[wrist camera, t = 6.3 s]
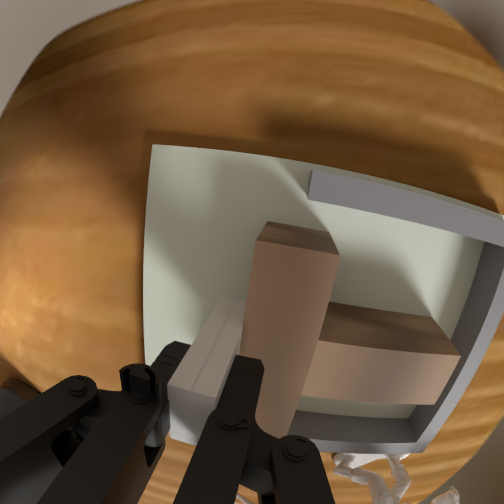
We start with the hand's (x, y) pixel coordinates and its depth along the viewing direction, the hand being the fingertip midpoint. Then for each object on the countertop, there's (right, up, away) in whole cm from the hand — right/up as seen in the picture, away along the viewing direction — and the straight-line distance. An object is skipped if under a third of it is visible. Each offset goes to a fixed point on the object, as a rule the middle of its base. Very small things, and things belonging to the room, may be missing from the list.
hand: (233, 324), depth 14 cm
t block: (+6, -1, +1) cm, 6 cm away
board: (+5, 0, +2) cm, 5 cm away
